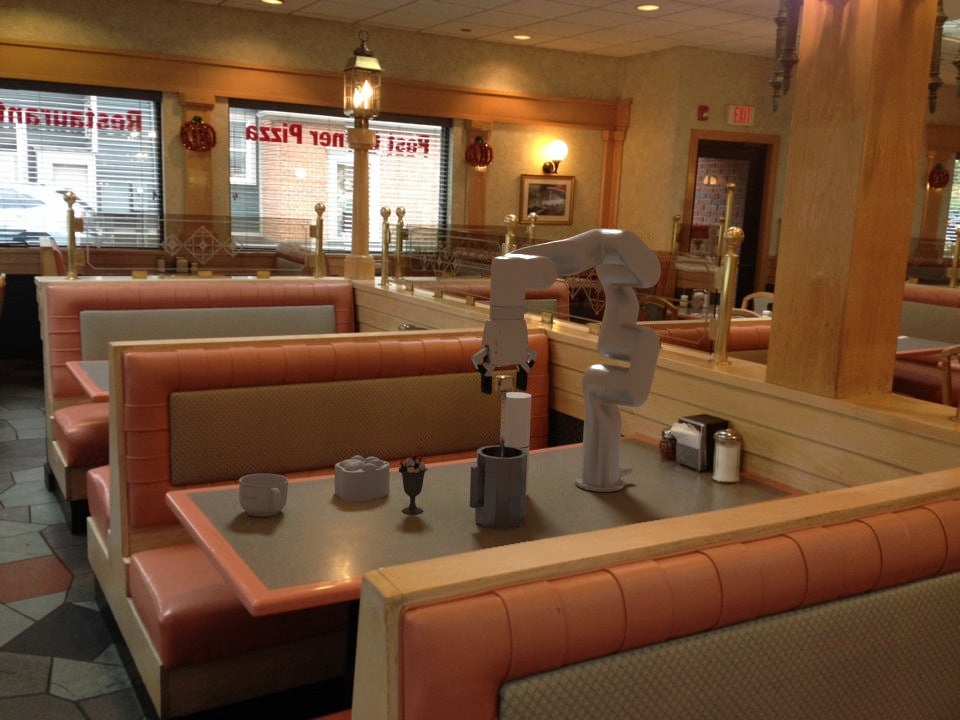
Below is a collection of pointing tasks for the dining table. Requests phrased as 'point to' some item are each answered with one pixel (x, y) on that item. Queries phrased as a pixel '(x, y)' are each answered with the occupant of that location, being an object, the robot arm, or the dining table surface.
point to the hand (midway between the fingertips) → (504, 391)
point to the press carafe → (499, 487)
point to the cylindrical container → (518, 423)
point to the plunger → (503, 403)
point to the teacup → (263, 493)
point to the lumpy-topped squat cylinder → (362, 479)
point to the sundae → (413, 481)
